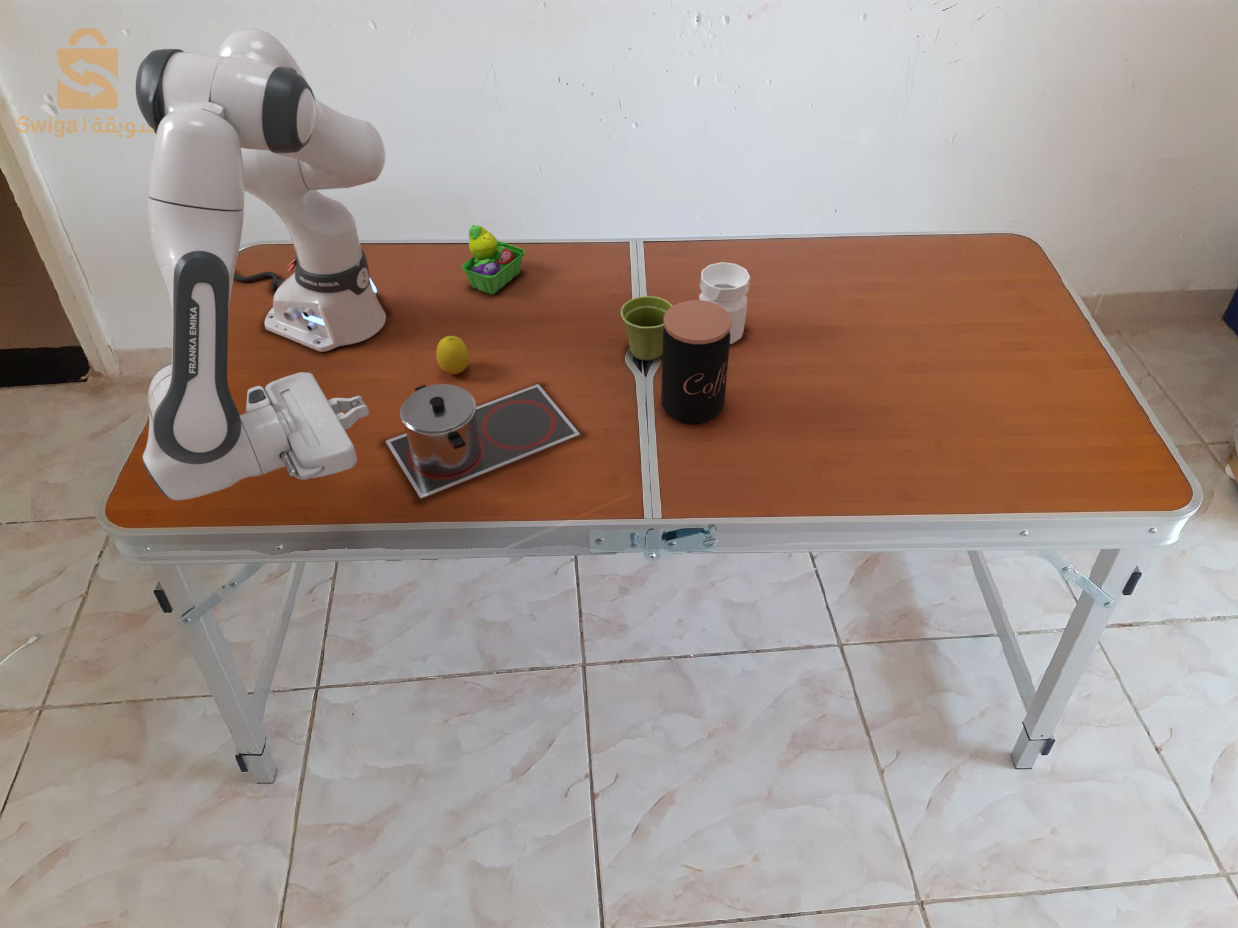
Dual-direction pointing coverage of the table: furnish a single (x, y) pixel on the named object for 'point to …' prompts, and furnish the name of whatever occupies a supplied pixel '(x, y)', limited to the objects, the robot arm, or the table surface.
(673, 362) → the coffee jar
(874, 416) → the table surface
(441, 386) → the steel pot
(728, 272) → the vase
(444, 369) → the lemon
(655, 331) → the plant pot
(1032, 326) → the table surface
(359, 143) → the robot arm
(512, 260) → the fruit basket
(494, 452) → the hob
